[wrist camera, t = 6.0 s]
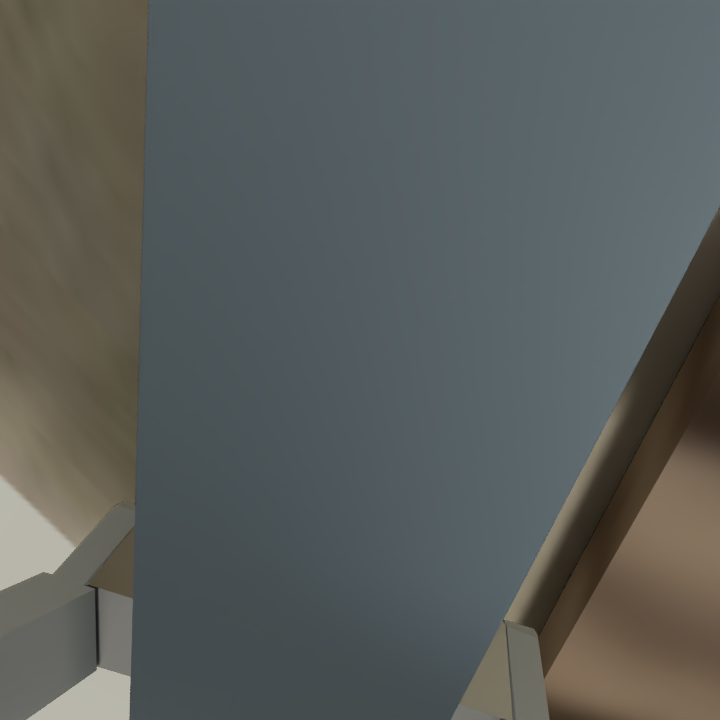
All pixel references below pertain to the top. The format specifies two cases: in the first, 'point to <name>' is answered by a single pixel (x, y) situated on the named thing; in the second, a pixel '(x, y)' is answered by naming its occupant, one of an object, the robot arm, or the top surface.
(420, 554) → the rail
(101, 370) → the top surface
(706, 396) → the stand
